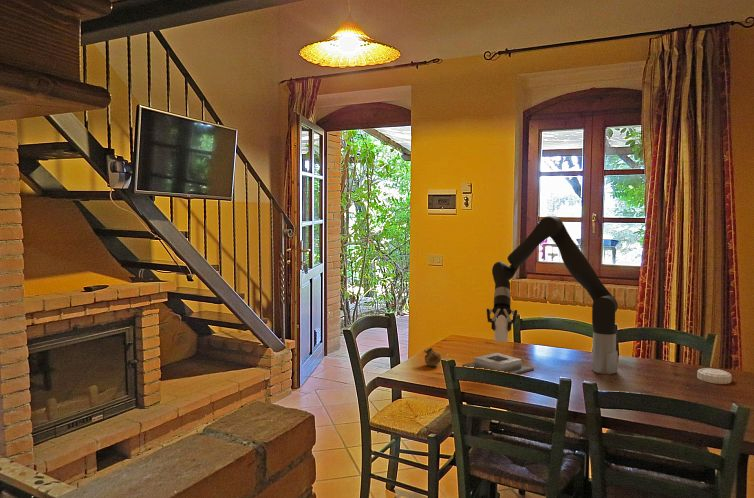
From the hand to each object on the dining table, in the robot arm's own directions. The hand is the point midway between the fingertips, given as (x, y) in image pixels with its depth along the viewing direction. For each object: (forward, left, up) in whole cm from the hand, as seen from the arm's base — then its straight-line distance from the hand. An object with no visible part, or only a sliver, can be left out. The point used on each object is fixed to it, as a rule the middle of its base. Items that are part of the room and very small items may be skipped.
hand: (501, 330), depth 238 cm
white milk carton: (+1, -1, -6) cm, 6 cm away
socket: (+1, 0, -18) cm, 18 cm away
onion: (+21, +21, -18) cm, 35 cm away
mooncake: (-62, -61, -18) cm, 88 cm away
